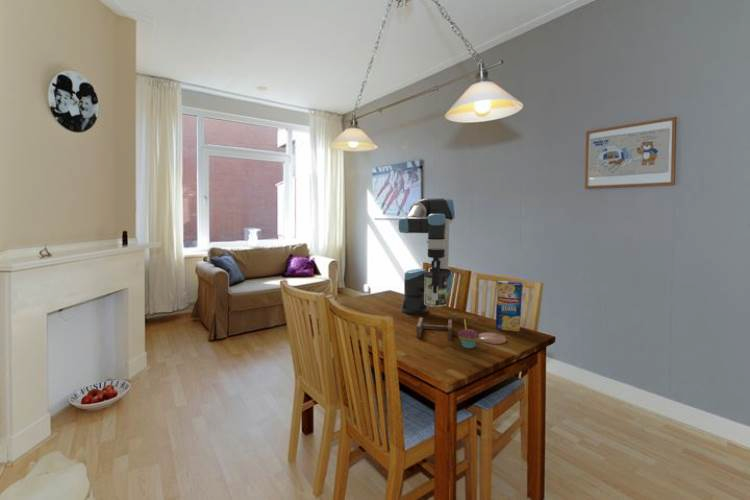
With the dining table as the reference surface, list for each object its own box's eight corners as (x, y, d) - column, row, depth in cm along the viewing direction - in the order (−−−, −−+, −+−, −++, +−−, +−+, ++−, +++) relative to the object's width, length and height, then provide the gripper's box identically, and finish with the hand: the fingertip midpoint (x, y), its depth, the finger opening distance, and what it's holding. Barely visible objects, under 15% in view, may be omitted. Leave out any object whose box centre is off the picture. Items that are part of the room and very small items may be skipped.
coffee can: (446, 301, 169) (447, 271, 167) (446, 307, 159) (447, 276, 157) (424, 300, 171) (425, 271, 169) (423, 306, 161) (423, 275, 159)
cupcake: (458, 349, 147) (459, 320, 146) (457, 341, 156) (457, 314, 154) (480, 350, 146) (481, 321, 145) (477, 342, 155) (478, 315, 153)
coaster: (476, 333, 166) (476, 331, 166) (504, 335, 164) (504, 333, 164) (478, 342, 155) (478, 341, 155) (508, 344, 152) (508, 343, 152)
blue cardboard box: (496, 324, 179) (497, 280, 177) (519, 327, 175) (522, 282, 173) (495, 328, 173) (497, 283, 170) (520, 331, 169) (522, 285, 166)
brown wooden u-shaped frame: (419, 327, 175) (419, 317, 175) (451, 329, 172) (451, 319, 171) (416, 337, 161) (416, 326, 161) (451, 340, 158) (451, 328, 157)
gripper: (429, 245, 174) (428, 290, 177) (425, 251, 152) (425, 303, 155) (445, 245, 172) (444, 291, 175) (444, 251, 150) (443, 303, 153)
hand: (435, 296), depth 165 cm, fingers closed on coffee can, 10 cm apart
